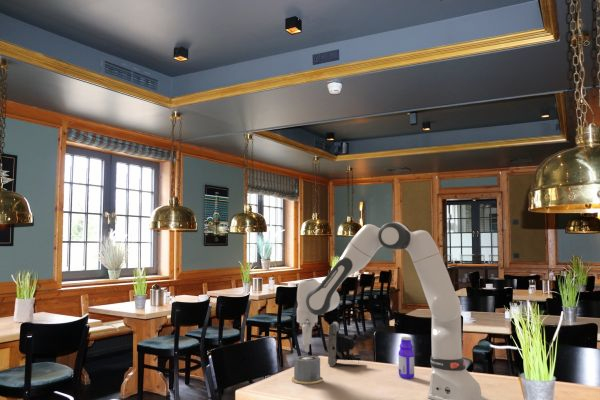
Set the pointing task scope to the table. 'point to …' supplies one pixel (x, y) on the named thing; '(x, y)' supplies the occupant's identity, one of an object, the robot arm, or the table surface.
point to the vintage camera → (340, 345)
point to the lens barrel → (307, 371)
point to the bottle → (406, 358)
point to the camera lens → (307, 358)
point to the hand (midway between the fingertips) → (306, 351)
